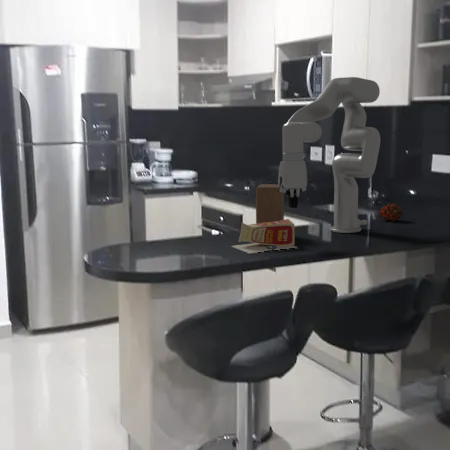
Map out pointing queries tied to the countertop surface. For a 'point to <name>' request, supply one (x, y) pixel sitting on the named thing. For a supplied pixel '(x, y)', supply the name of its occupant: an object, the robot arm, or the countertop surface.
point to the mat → (259, 247)
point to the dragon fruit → (390, 212)
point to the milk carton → (269, 233)
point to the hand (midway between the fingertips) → (293, 207)
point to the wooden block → (269, 203)
